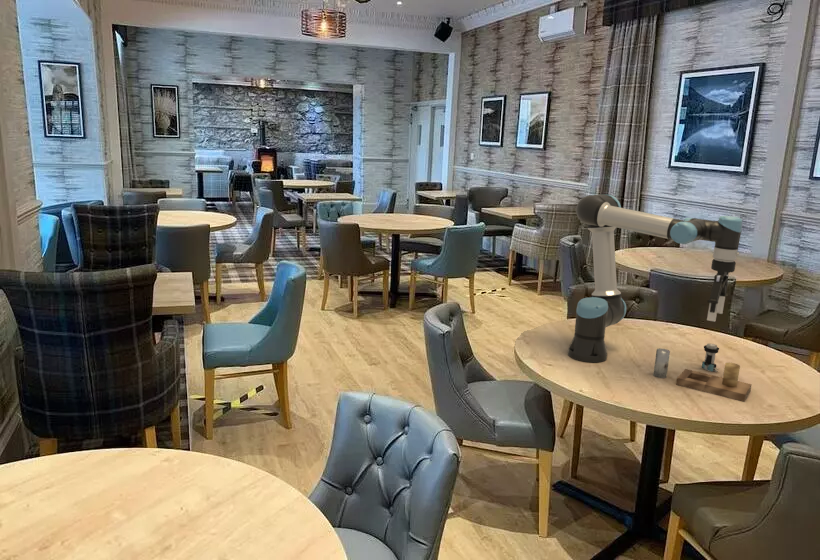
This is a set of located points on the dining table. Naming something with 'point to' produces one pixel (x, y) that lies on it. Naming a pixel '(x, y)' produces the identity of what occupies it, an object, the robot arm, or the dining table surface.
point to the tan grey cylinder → (661, 363)
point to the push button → (710, 357)
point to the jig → (717, 382)
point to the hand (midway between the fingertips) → (714, 316)
